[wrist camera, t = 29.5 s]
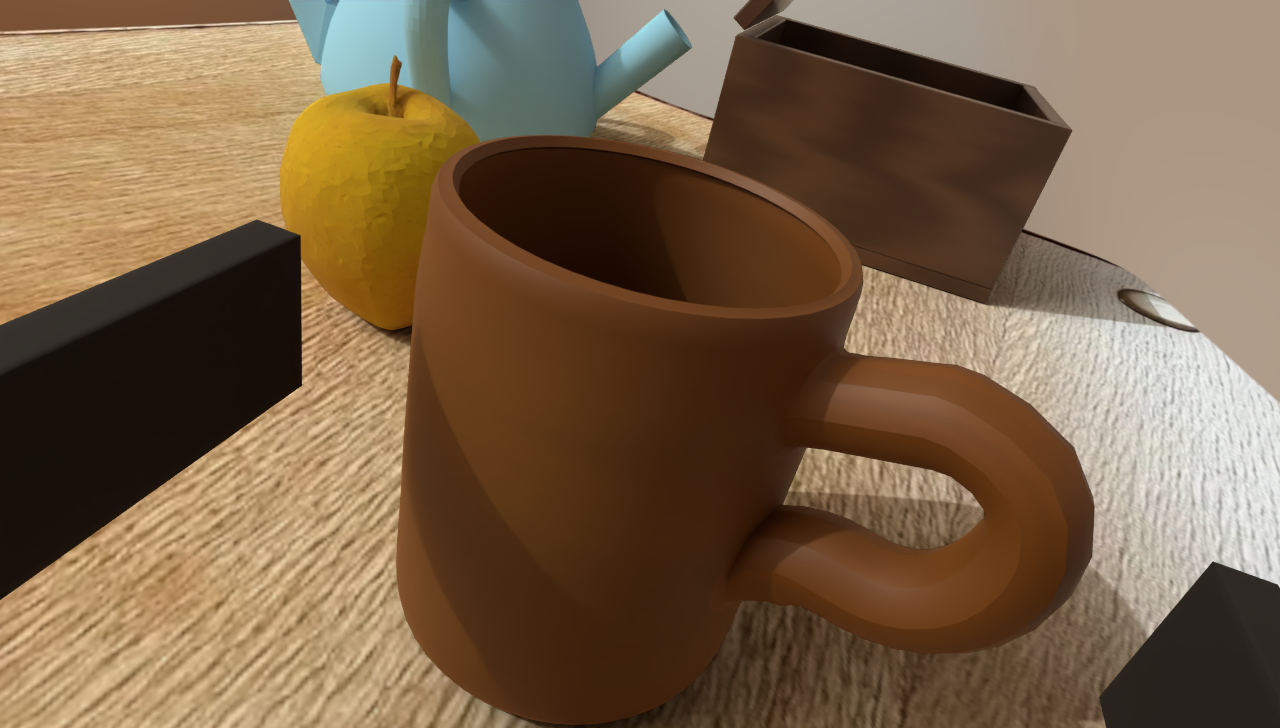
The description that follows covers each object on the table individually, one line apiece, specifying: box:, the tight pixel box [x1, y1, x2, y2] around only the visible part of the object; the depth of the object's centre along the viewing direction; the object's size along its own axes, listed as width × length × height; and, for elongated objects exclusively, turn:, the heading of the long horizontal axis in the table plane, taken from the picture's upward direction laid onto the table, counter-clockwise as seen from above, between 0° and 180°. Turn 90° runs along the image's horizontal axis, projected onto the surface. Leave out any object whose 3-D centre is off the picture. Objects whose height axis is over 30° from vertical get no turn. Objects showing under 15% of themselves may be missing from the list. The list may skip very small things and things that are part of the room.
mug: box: [396, 135, 1095, 725], centre depth 15 cm, size 12×8×9 cm, turn 53°
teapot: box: [289, 0, 692, 142], centre depth 41 cm, size 15×17×11 cm
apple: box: [280, 55, 481, 330], centre depth 25 cm, size 6×6×8 cm
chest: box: [703, 15, 1072, 303], centre depth 43 cm, size 16×13×9 cm
